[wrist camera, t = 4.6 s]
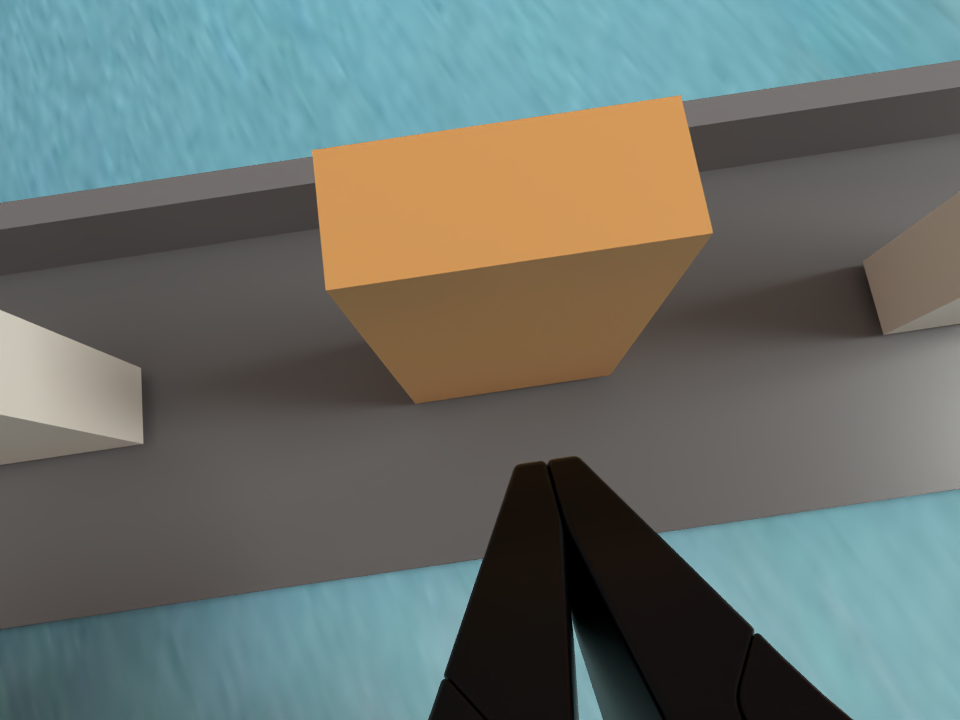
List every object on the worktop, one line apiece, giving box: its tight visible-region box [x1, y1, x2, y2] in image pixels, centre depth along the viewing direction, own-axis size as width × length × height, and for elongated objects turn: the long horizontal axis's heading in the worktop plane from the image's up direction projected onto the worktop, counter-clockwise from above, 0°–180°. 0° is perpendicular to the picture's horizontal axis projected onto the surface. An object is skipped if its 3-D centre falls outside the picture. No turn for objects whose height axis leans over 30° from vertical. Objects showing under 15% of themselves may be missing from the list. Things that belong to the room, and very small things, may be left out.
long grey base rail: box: [0, 60, 960, 629], centre depth 17 cm, size 10×34×4 cm, turn 98°
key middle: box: [312, 95, 713, 404], centre depth 13 cm, size 2×5×9 cm, turn 98°
